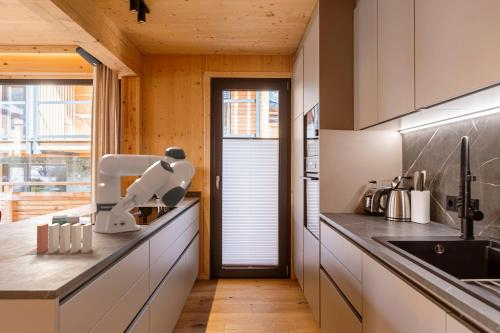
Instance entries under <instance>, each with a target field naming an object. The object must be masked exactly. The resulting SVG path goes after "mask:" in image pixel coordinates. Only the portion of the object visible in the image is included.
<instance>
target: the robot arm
mask: <svg viewBox="0 0 500 333" xmlns="http://www.w3.org/2000/svg"><path fill="white" fill-rule="evenodd" d="M186 158H187V155H186V152H185V150H184V149H183V148H181V147H178V146H171V147H168V148H166V149H165V151H164V156H162V155H155V154H154V155H153V154H125V153H124V154H121V153H120V154H119V153H118V154H117V153H110V154H109V153H107V154H105V155H102V156H101V157H99V159H98V161H97V167H96V168H97V169H96V170H97V174H96V176H97V178H96V181H97V182H96V185H97V192H96V194H97V196H96V203H95V214H96V215H95V216H96V217H95V222H94V226H93V228H92V232H95V233H101V234H102V233H103V234H114V233H116V234H117V233H124V232H131V231H132V232H133V231H139V230H141V226H140V224H137V223H136V218H135V216H134V215H133V214H132V213H130V211H131V210H133V209H134V208H136V207H138V206H139V205H140V206H144V205H145V204H146V203H148V201H149V200H150V199H152V197H153V196H154V195H155V196H156V197H157V198H158V199H160V201H161V203H163V204H164V206H165V207H167V208H175V207H177V206H178V205H180V204H181V203H182V202H183V201H184V199H185V196H186V194H187V192H188V191H189V189H190V188H191V186H192V181H191V179H193V177H194V176H195V173H196V167H195V165H194V163H192V162H191V161H189V160H186ZM128 176H136V177H137V176H140V177H139V178H137V179H136V180H134V182H132V184H130V185H129V186H128V187H127V188H126V190H125V191H126V194H125V197H124V198H122V199H121V195H122V194H121V193H122V192H121V188H122V187H121V177H128Z"/></svg>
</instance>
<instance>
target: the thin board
mask: <svg viewBox="0 0 500 333" xmlns="http://www.w3.org/2000/svg"><path fill="white" fill-rule="evenodd" d="M101 248H102V247H101V246H99V247H95V246H94V247H93V246H92V249H91V250H90V251H88V252H83V247H81V249H80V250H79V251H77V252H76V253H71V247H70V250H68V251H66V252H65V253H60V247H59V250H57V251H55V252H54V253H48V250H46V251H44V252H42V253H37V247H36V248H34V249H32V250H30V251H28V252H25V253H24V254H22V256H53V255H55V256H58V255H59V256H61V255H63V256H65V255H67V256H68V255H69V256H71V255H74V256H75V255H93V254H94V253H96V252H97V251H98V250H100V249H101Z"/></svg>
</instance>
